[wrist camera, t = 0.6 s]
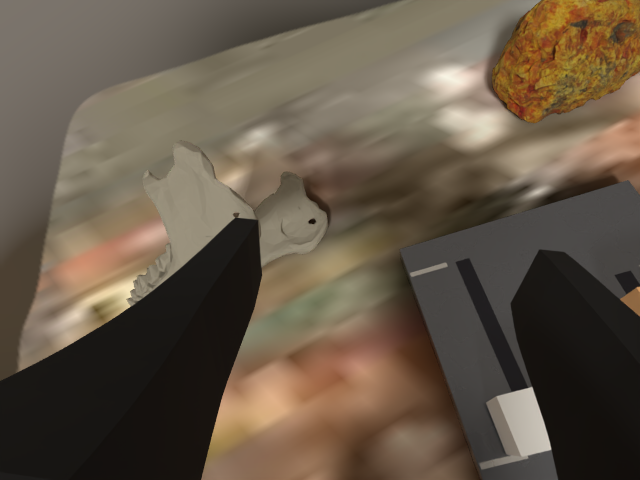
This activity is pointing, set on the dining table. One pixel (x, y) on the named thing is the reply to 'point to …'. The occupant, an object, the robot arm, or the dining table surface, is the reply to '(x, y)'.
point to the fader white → (519, 423)
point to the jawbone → (222, 215)
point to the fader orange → (633, 300)
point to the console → (496, 295)
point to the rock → (568, 55)
